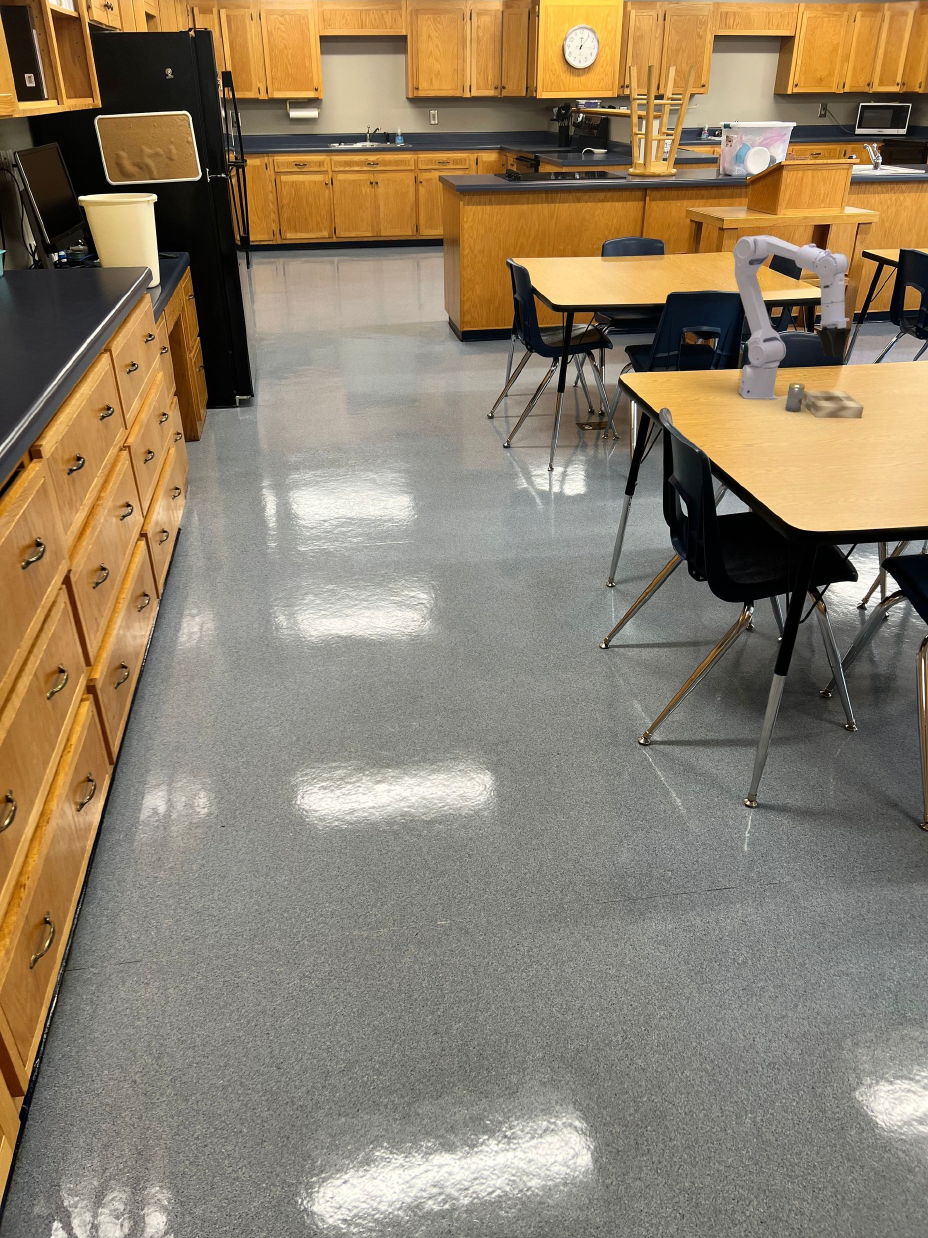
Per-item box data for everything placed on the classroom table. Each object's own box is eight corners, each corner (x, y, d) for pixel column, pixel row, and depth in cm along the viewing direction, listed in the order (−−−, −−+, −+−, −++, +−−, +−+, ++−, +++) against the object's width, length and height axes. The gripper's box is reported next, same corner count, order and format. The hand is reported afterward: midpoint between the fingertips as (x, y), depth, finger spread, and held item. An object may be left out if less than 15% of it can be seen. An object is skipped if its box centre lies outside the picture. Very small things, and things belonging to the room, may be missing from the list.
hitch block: (815, 416, 242) (818, 405, 241) (799, 401, 256) (801, 390, 255) (861, 417, 241) (863, 406, 240) (842, 401, 255) (845, 391, 254)
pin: (787, 411, 246) (791, 386, 243) (783, 407, 250) (787, 382, 247) (801, 412, 246) (806, 386, 243) (798, 408, 250) (802, 382, 246)
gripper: (858, 299, 228) (858, 354, 232) (839, 301, 242) (839, 353, 246) (829, 303, 229) (830, 358, 233) (812, 305, 243) (813, 356, 247)
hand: (833, 356), depth 240 cm, fingers open, 7 cm apart
